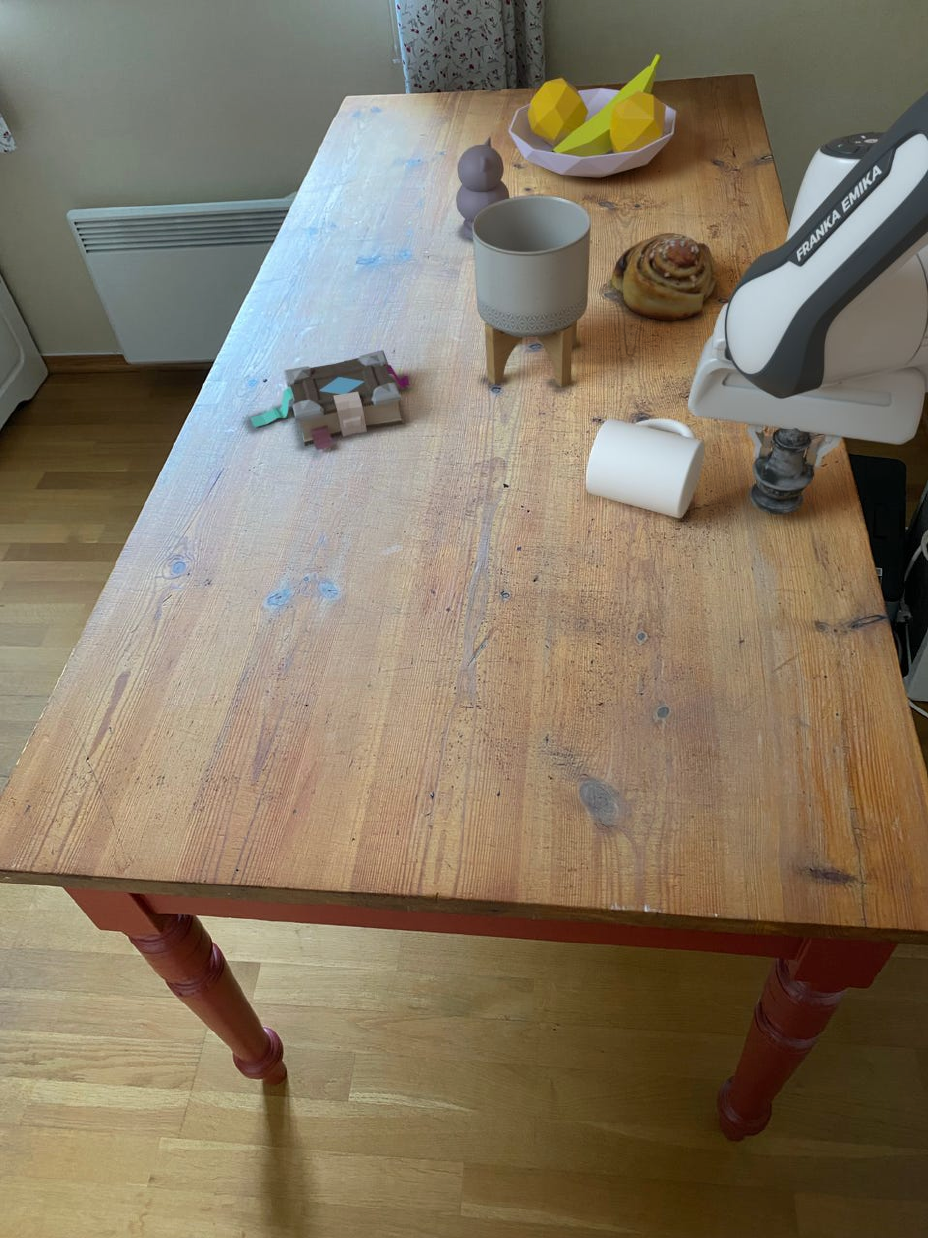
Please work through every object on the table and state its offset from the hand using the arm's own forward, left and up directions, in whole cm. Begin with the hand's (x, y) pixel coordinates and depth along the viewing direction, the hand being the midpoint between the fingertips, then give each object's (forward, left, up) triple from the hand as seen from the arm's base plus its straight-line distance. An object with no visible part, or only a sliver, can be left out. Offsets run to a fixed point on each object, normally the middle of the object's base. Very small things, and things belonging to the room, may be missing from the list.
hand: (785, 459), depth 87 cm
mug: (+13, 0, -6) cm, 14 cm away
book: (+51, -3, -6) cm, 51 cm away
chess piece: (0, 0, -5) cm, 5 cm away
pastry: (+18, -39, -6) cm, 44 cm away
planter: (+31, -19, -6) cm, 37 cm away
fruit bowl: (+36, -77, -6) cm, 85 cm away
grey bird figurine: (+47, -50, -6) cm, 69 cm away
